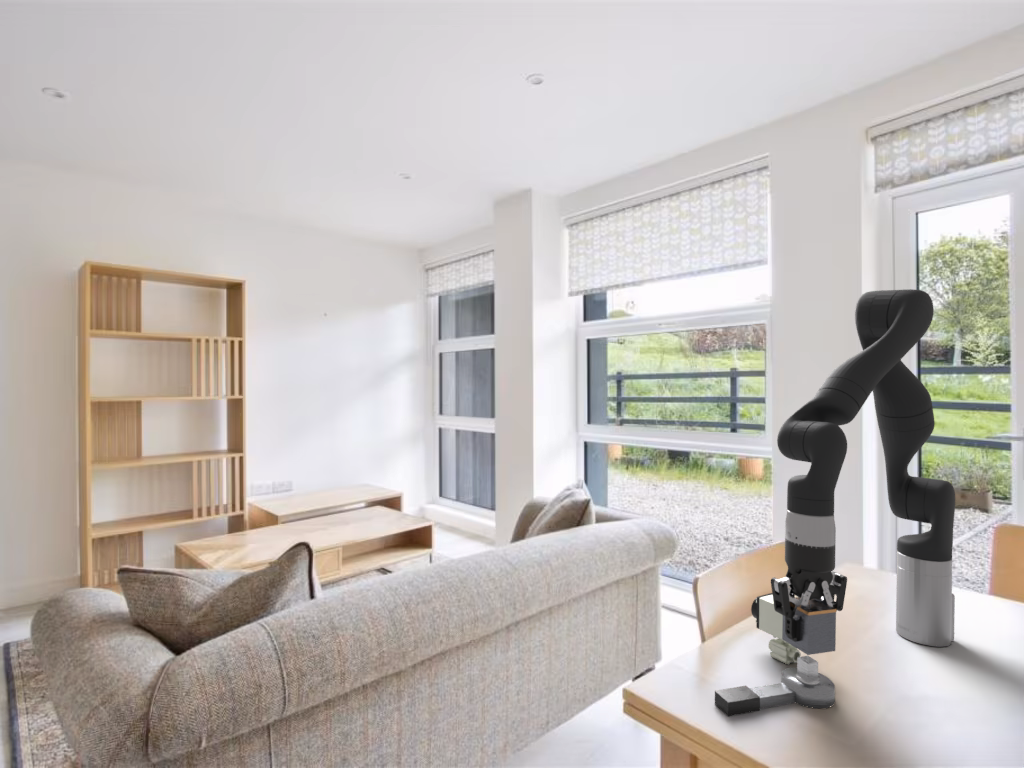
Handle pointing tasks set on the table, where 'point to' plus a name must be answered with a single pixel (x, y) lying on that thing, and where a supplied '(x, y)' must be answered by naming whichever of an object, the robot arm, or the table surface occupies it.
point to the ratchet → (781, 691)
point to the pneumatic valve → (773, 628)
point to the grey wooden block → (815, 628)
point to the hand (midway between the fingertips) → (808, 637)
